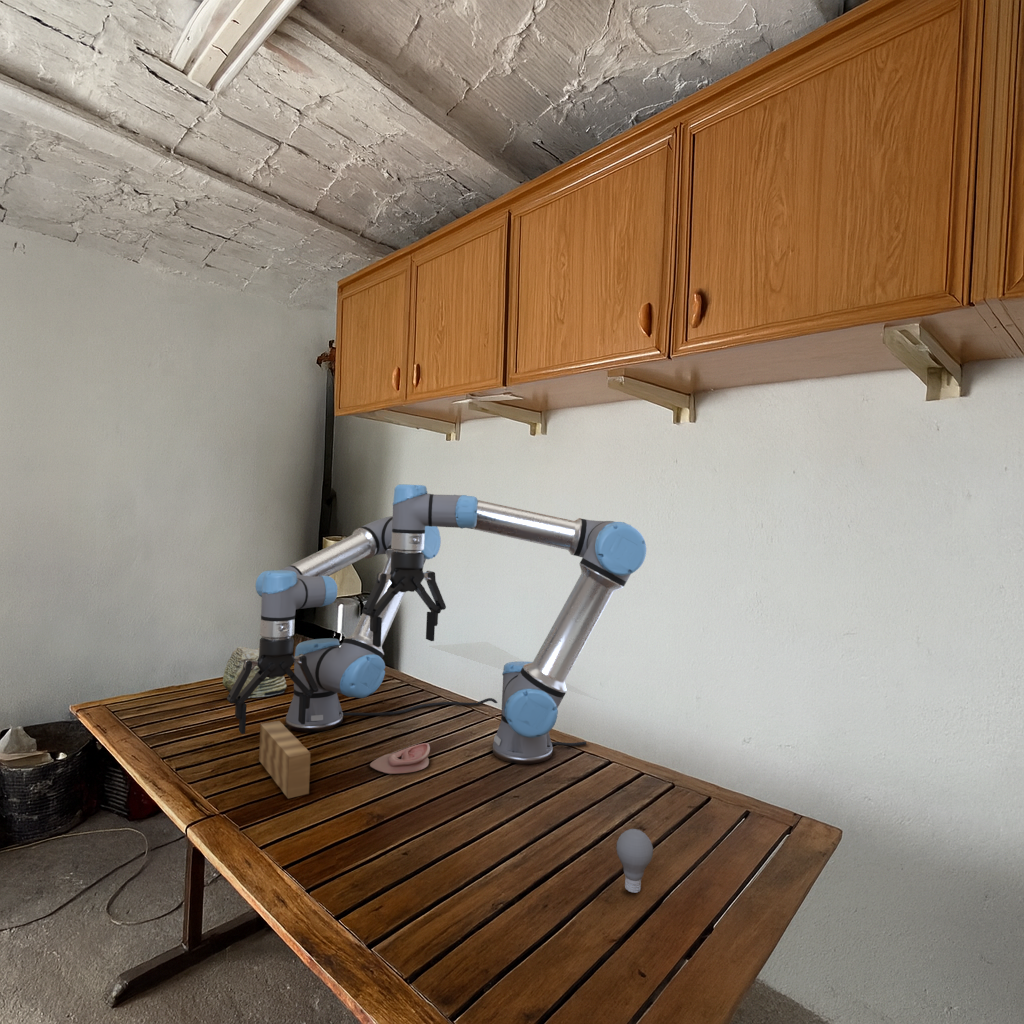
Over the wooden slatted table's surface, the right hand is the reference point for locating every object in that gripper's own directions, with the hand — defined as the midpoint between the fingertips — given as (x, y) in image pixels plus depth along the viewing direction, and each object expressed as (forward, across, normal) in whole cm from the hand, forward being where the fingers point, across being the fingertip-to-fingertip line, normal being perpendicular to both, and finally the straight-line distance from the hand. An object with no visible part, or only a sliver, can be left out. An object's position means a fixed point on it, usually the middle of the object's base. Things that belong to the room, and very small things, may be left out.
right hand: (404, 642), depth 146 cm
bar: (+30, -23, +12) cm, 40 cm away
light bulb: (+30, +13, -61) cm, 69 cm away
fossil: (+30, -14, +73) cm, 80 cm away
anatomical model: (+30, +2, +4) cm, 31 cm away
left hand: (+22, -23, +19) cm, 37 cm away
